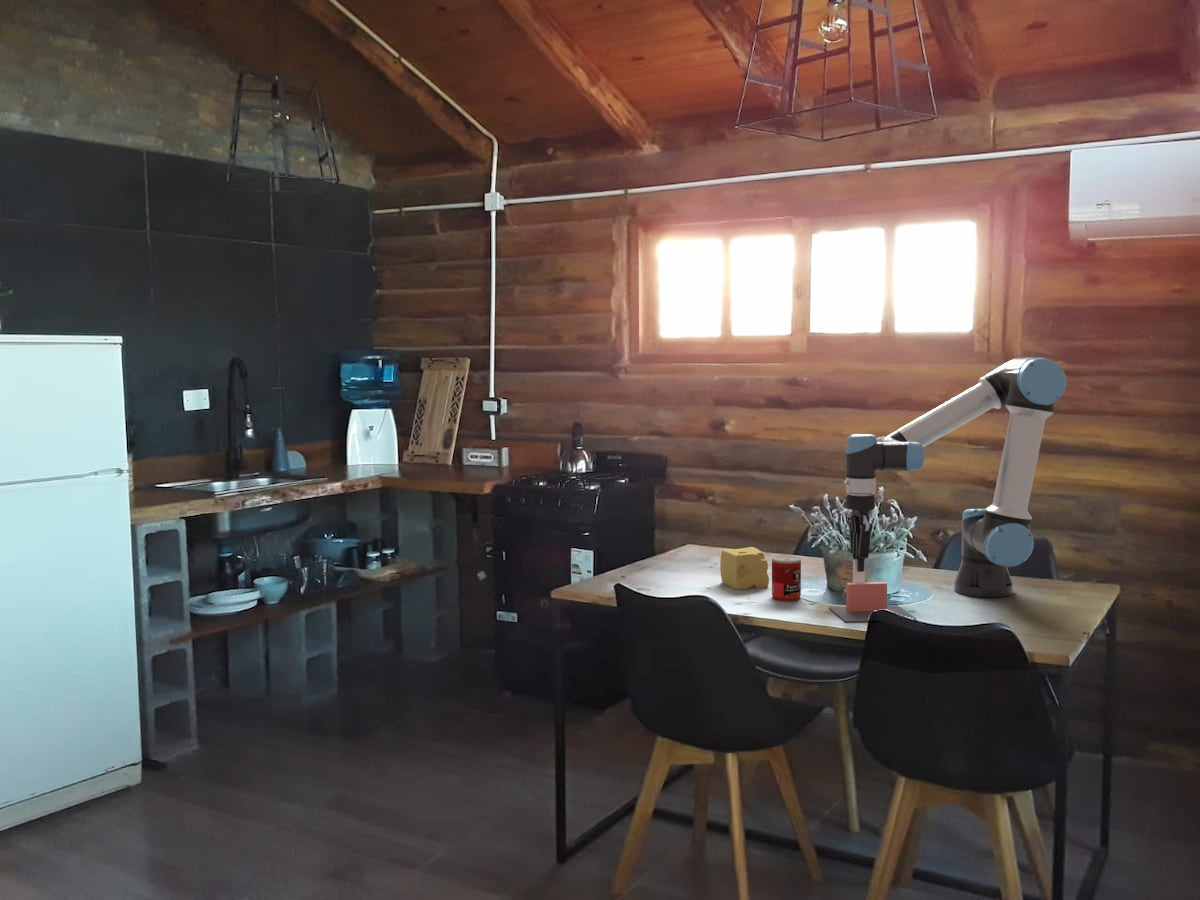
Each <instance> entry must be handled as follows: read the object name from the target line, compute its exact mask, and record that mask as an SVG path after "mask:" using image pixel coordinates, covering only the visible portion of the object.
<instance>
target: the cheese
mask: <svg viewBox="0 0 1200 900" xmlns="http://www.w3.org/2000/svg"><path fill="white" fill-rule="evenodd" d="M763 552H764V551H761V550H760V549H758V548H756V547H753V546H749V547H742V548H736V549H735V548H734V549H723V550H721V553H720V561H719V563H720V564H719V565H720V566H719V567H720V569H719V570H720V578H721V583H722V584H724V585H726V586H729V587H731V588H732V589H735V590H737V591H739V590H748V589H751V588H757V589H758V588H759V589H761V588H768V587H769V584H770V578H769V574H768V569H769V564H768V561H767V559H766V557H765V554H764V553H763Z"/></svg>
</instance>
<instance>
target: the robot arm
mask: <svg viewBox="0 0 1200 900" xmlns="http://www.w3.org/2000/svg"><path fill="white" fill-rule="evenodd" d="M1066 387H1067V377H1066V374H1065V371H1064V369H1063V368H1062V367H1061V366H1060V365H1059V364H1058V363H1057V362H1056V361H1054V360H1051V359H1049V358H1045V357H1042V356H1041V357H1040V356H1039V357H1037V356H1034V357H1027V356H1022V357H1021V356H1020V357H1014V358H1013V359H1010V360H1009V361H1007V362H1004V363H1003V364H1002V365H1000V366H998V367H997V368H995V369H994V370H992V371H990V372H989V373H986V375H983V376H982V377H980V378H979V379H978V383H977V384H976V385H974V386H972V387H970V388H968V389H966V390H964V391H963V392H962V393H960V394H958V395H956V396H954V397H952V398H951V399H949V400H948V401H945V402H944V403H942V404H940V405H939V406H937V407H934V408H933V409H931V410H930V411H928V412H927V413H924V414H923V415H921V416H919V417H917V418H916V419H914V420H912V421H911V422H909V423H907V424H905V425H903V426H902V427H900V428H898V429H897V430H895V431H893V432H891V433H889V434H888V435H886V436H885V435H884V436H879V437H877V436H876V435H874V434H871V433H870V434H869V433H864V434H863V433H853V434H850V435H848V436H847V439H846V449H845V458H846V460H845V461H846V462H845V468H846V469H845V475H846V476H845V481H843V484H844V486H845V492H846V494H845V500H844V501H845V505H844V506H845V508H846V509H847V510H850V511H851V515H850V516H848V517H847V523H848V531H849V533H848V534H849V549H850V550H849V551H850V554H852V561H853V562H852V583H860V582H866V580H865V579H866V560H867V559H868V558H869V554H870V544H871V537H872V530H873V526H874V525H873V524H872V523H870V520H871V519H870V516H869V511H872V510H874V509H875V508H876V496H875V493H876V490H877V489H876V487H877V486H876V485H877V484H876V483H877V477H876V474H877V472H886V471H887V472H909V473H910V472H915V471H920V470H922V468H923V466H924V462H925V451H924V447H926V446H928V445H930V444H931V443H934V442H935V441H937V440H939V439H941V438H942V437H944V436H946V435H948V434H950V433H951V432H953V431H954V430H956V429H958V428H960V427H962V426H964V425H965V424H968V423H969V422H970V421H972V420H974V419H977V418H978V417H979V416H981V415H983V414H985V413H986V412H988V411H991V410H992V409H997V410H1000V409H1001V408H1003V407H1006V409H1007V410H1008V412H1009V417H1008V418H1009V420H1008V423H1007V429H1006V433H1005V434H1006V435H1005V440H1004V445H1003V448H1002V449H1003V450H1002V453H1001V459H1000V463H999V465H1000V466H999V470H998V475H997V479H996V486H995V490H994V494H993V500H992V503H991V504H990V505H988V506H987V507H985V508H966V509H965V510H964V511H962V519H961V563H960V566H959V568H958V571H957V574H956V577H955V579H954V582H953V583H954V592H957V593H959V594H962V595H965V596H971V597H976V598H977V597H978V598H1005V597H1009V596H1012V595H1013V594H1014V585H1013V582H1012V578H1011V575H1010V572H1009V569H1008V568H1010V567H1011V568H1012V567H1017V566H1018V565H1020V564H1023V563H1024V562H1026V561H1027V560H1028V559H1029V558H1030V556H1031V555H1032V553H1033V551H1034V545H1035V544H1034V542H1035V541H1034V536H1033V535H1032V533H1031V531H1030V530H1031V527H1032V526H1031V525H1032V521H1033V517H1032V515H1031V514H1030V513H1029V511H1028V509H1029V504H1030V498H1031V494H1032V489H1033V484H1034V478H1035V474H1036V468H1037V463H1038V458H1039V454H1040V450H1041V449H1040V448H1041V444H1042V439H1043V438H1042V437H1043V434H1044V428H1045V424H1046V420H1047V419H1048V418H1049V417H1051V416H1052V415H1054V412H1055V407H1056V402H1057V401H1058V400H1060V398H1061V397H1062V396H1063V395H1064V393H1065V391H1066V389H1067V388H1066Z"/></svg>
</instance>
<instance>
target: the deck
mask: <svg viewBox="0 0 1200 900" xmlns="http://www.w3.org/2000/svg"><path fill="white" fill-rule="evenodd" d="M845 584H846V586H845V595H846V596H845V607H846V610H847V611H848V612H854V611H874V610H879V609H887V605H888V583H887V582H885V581H870V582H869V581H868V582H867V581H865V582H860V583H853V582H846V583H845Z"/></svg>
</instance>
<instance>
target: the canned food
mask: <svg viewBox="0 0 1200 900" xmlns="http://www.w3.org/2000/svg"><path fill="white" fill-rule="evenodd" d="M801 568H802V561H801V557H800V556H796V555H795V556H794V555H787V554H786V555H784V554H783V555H775V556H772V557H771V595H772V599H773V600H775V601H780V602H796V601H798V600H800V598H801V596H802V595H801V593H802V592H801V591H802V586H801V585H802V581H801V580H802V569H801Z"/></svg>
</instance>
